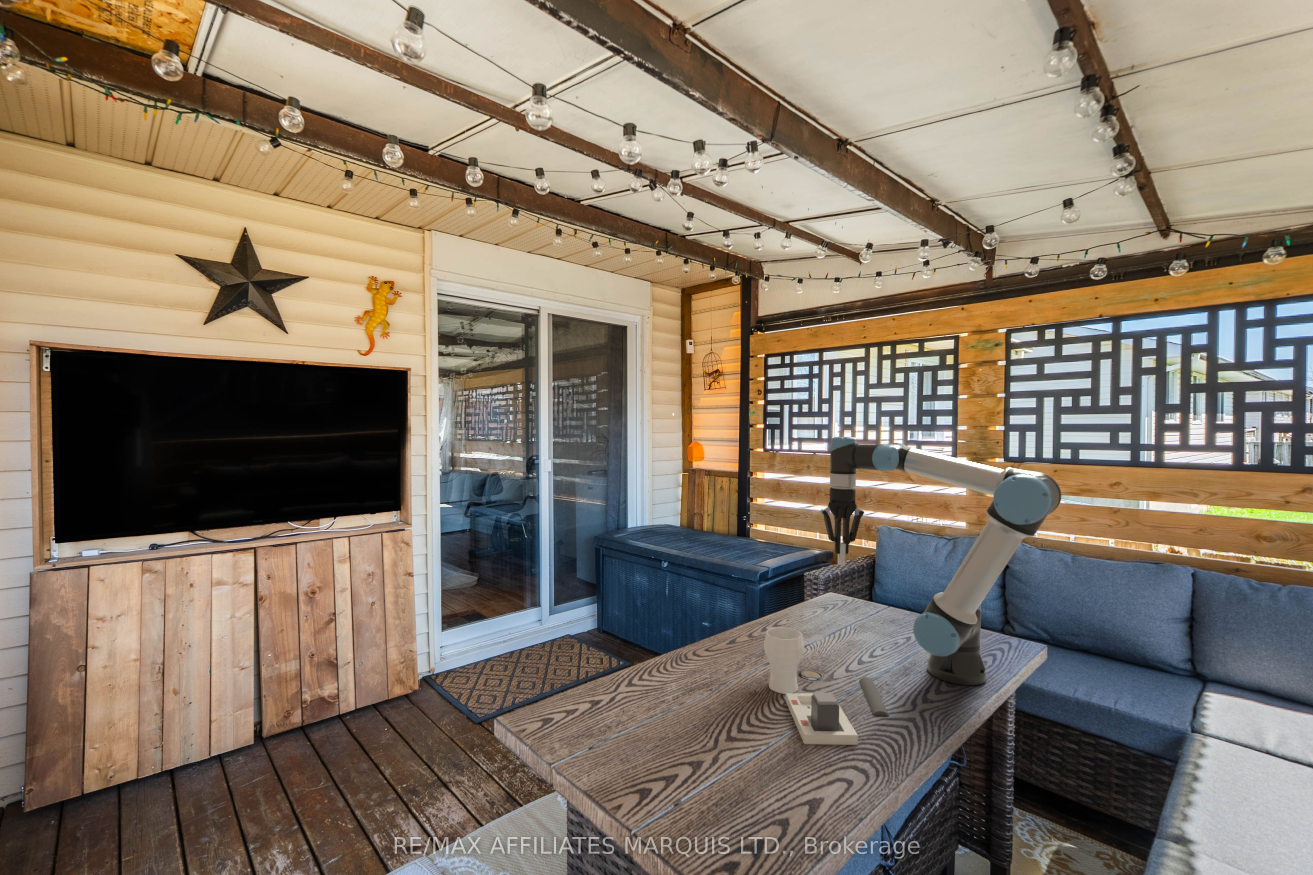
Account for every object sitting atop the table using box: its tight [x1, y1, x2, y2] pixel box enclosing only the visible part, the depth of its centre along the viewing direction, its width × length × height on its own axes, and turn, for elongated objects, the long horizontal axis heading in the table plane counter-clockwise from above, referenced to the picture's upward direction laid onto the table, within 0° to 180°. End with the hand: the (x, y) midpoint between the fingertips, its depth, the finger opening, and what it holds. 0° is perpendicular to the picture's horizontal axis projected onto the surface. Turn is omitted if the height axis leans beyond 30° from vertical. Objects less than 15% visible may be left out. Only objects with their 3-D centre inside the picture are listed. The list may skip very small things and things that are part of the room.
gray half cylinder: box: [858, 676, 890, 717], centre depth 155 cm, size 4×20×2 cm, turn 171°
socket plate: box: [785, 692, 859, 746], centre depth 143 cm, size 12×20×2 cm, turn 179°
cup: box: [763, 626, 805, 695], centre depth 160 cm, size 11×11×15 cm
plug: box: [811, 692, 840, 731], centre depth 138 cm, size 5×5×8 cm
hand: (841, 564), depth 180 cm, fingers closed
